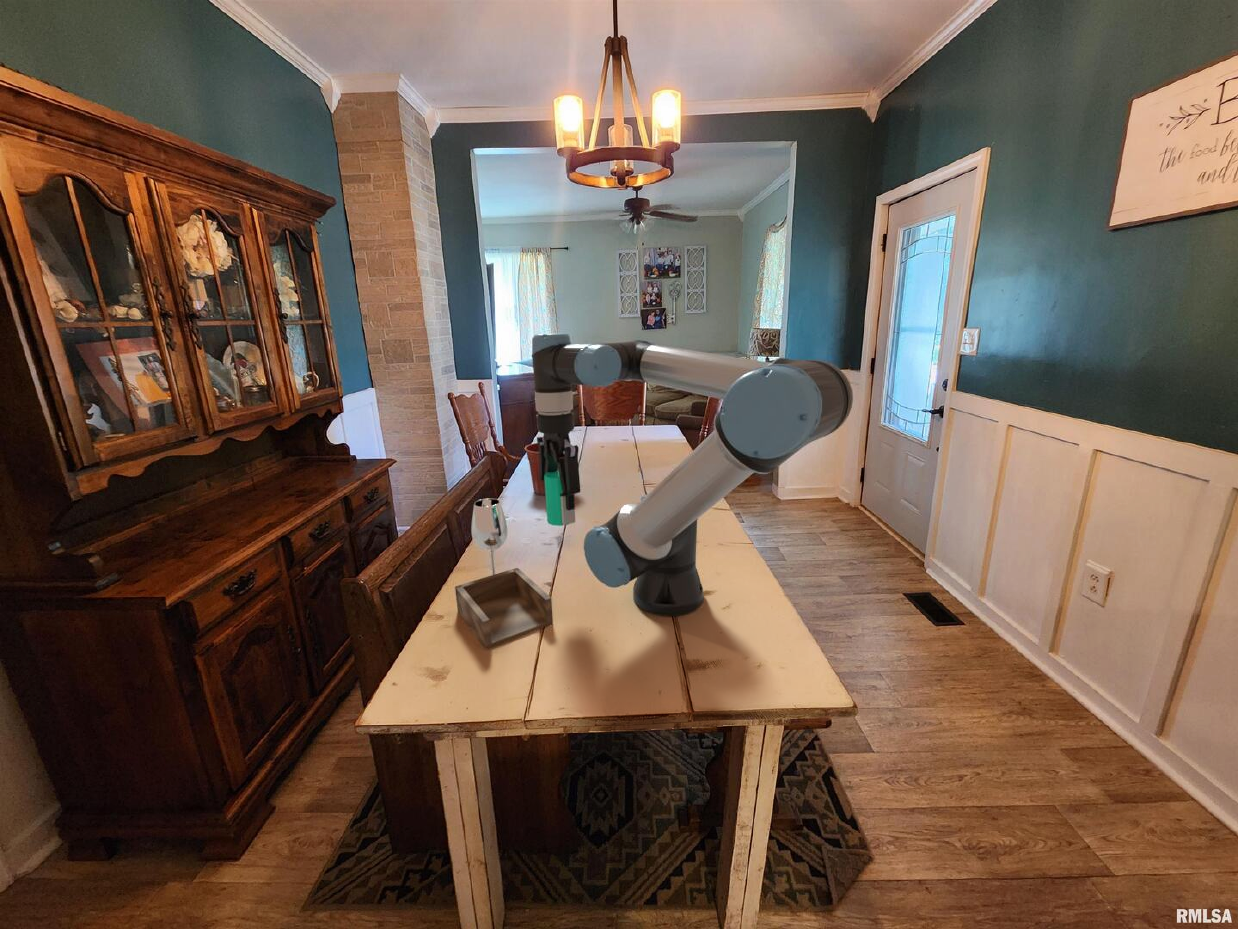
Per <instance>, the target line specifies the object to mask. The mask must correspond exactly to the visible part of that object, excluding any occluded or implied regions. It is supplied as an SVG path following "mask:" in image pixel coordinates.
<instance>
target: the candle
mask: <svg viewBox="0 0 1238 929" xmlns="http://www.w3.org/2000/svg"><path fill="white" fill-rule="evenodd" d="M544 478H545V494H546V495H545V505H546V507H545V508H546V521H547V524H548V525H551V526H557V527H559V526H560V527H562V526H564V525H563V524H562V509H561V496H560V494H561V493H563V491H562V486H561V481H560V476H559V471H555V472H547V473H546V474H545V475H544ZM568 525H569V524H567V525H566V526H568Z"/></svg>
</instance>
